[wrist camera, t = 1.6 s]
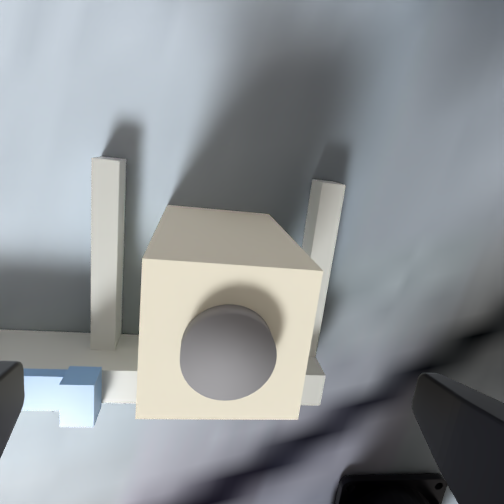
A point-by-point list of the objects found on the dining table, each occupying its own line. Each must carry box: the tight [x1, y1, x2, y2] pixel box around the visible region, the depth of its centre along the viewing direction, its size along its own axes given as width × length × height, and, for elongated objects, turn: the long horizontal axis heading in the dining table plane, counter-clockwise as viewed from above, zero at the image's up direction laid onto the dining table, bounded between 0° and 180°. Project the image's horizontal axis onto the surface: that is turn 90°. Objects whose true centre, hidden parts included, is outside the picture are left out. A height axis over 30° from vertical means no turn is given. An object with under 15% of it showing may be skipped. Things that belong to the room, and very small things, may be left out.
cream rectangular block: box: [135, 205, 323, 420], centre depth 14 cm, size 4×4×9 cm
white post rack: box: [0, 156, 346, 427], centre depth 15 cm, size 19×10×4 cm, turn 83°
